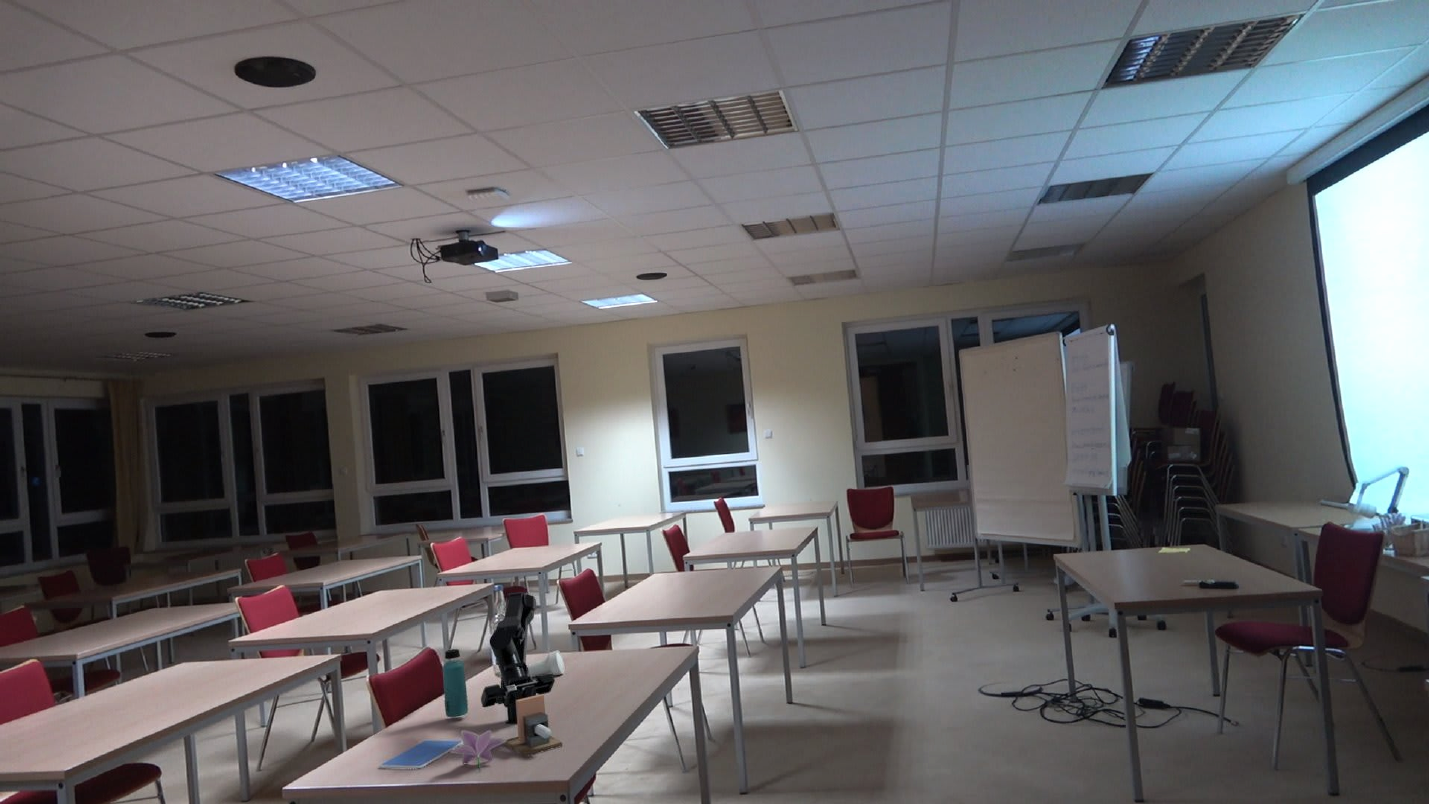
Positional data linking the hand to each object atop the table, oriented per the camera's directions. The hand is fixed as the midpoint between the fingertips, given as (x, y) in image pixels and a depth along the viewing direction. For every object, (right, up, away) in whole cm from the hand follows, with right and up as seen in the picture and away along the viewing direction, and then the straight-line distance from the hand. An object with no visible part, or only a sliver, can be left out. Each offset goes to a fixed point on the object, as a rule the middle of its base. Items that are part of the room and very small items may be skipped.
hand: (527, 718), depth 224 cm
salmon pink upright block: (+4, -5, -4) cm, 8 cm away
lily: (-9, -7, -14) cm, 18 cm away
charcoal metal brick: (+3, -6, -3) cm, 8 cm away
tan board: (+2, -7, -1) cm, 7 cm away
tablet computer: (-27, -10, -1) cm, 28 cm away
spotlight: (-9, -13, +74) cm, 75 cm away
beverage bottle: (-27, -11, +30) cm, 42 cm away
